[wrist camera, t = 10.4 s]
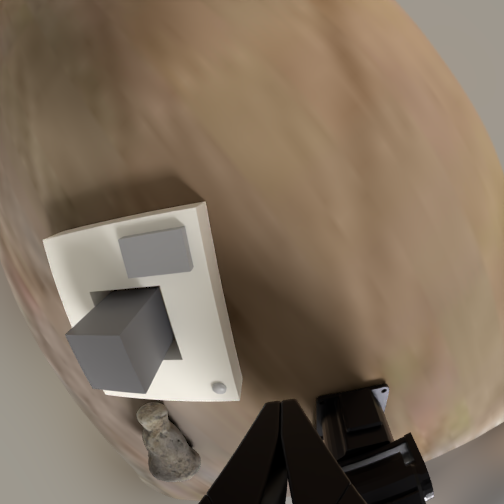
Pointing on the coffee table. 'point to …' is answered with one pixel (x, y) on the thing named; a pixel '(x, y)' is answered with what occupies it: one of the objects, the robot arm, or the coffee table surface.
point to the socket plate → (172, 287)
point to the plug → (123, 340)
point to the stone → (166, 445)
